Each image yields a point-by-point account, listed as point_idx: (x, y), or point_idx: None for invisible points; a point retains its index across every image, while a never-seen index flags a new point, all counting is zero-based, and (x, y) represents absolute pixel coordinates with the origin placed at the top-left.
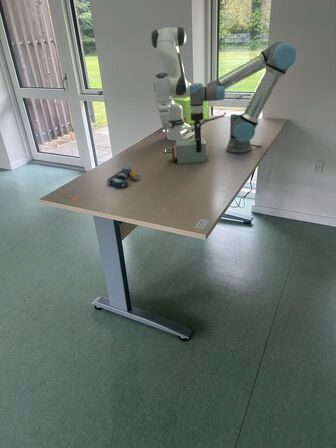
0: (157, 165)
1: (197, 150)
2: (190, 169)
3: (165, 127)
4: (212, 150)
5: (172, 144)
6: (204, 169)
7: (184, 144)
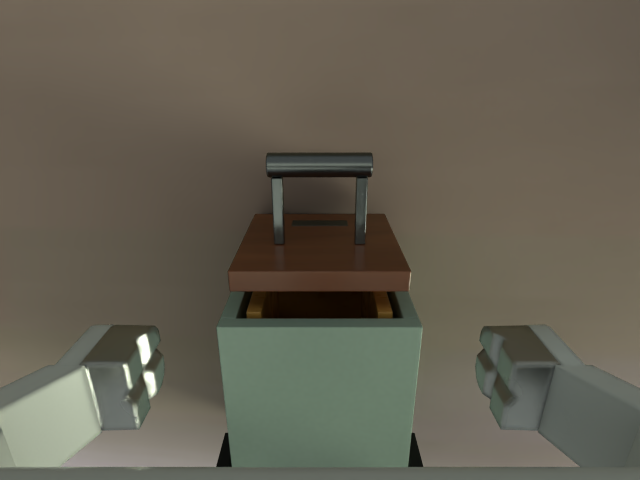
0: (234, 68)
1: (222, 452)
2: None
3: (24, 420)
4: None
5: (338, 278)
6: None
7: (253, 402)
